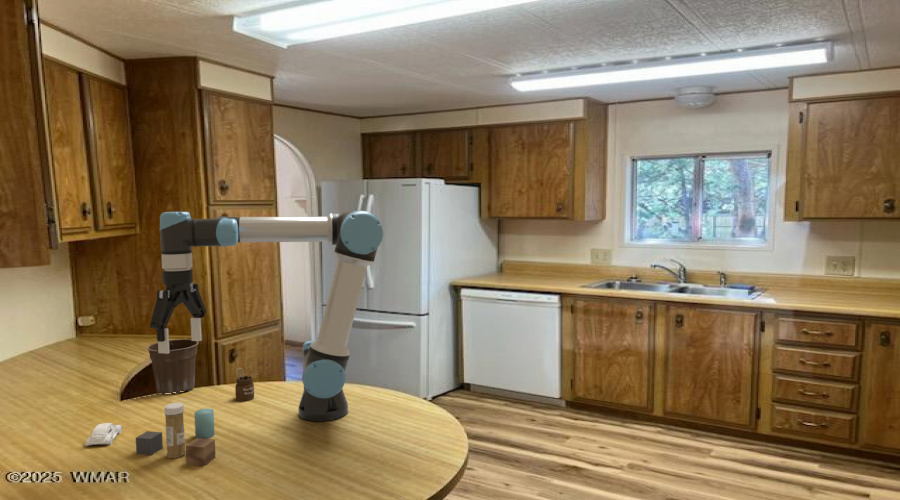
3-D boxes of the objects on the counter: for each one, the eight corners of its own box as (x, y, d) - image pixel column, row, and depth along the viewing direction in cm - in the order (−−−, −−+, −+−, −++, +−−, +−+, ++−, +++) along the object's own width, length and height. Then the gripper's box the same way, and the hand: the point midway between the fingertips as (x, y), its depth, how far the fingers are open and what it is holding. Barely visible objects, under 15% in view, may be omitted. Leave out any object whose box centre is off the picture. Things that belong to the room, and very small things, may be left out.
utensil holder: (231, 400, 199) (230, 364, 198) (244, 394, 205) (243, 360, 204) (245, 402, 197) (244, 366, 196) (258, 396, 203) (257, 361, 202)
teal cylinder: (218, 432, 172) (217, 409, 171) (207, 439, 167) (207, 415, 166) (202, 431, 173) (201, 408, 172) (191, 438, 168) (190, 414, 167)
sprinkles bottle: (187, 456, 157) (185, 405, 155) (167, 460, 154) (165, 409, 153) (183, 449, 160) (181, 400, 159) (165, 453, 158) (162, 404, 157)
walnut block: (215, 458, 156) (214, 439, 155) (204, 466, 151) (203, 447, 150) (198, 456, 157) (197, 437, 156) (186, 464, 152) (185, 445, 151)
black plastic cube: (162, 448, 162) (162, 432, 161) (151, 455, 157) (150, 438, 157) (147, 447, 162) (147, 431, 162) (136, 454, 158) (135, 437, 158)
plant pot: (147, 399, 200) (145, 352, 198) (150, 385, 215) (148, 341, 213) (200, 393, 206) (198, 347, 205) (199, 380, 221) (198, 337, 220)
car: (109, 447, 163) (108, 431, 162) (84, 449, 162) (83, 432, 161) (125, 430, 174) (124, 415, 174) (102, 432, 173) (101, 416, 173)
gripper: (194, 263, 175) (197, 335, 177) (131, 274, 150) (135, 357, 152) (217, 264, 173) (220, 336, 175) (157, 275, 149) (161, 359, 151)
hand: (181, 346), depth 164 cm, fingers open, 13 cm apart
